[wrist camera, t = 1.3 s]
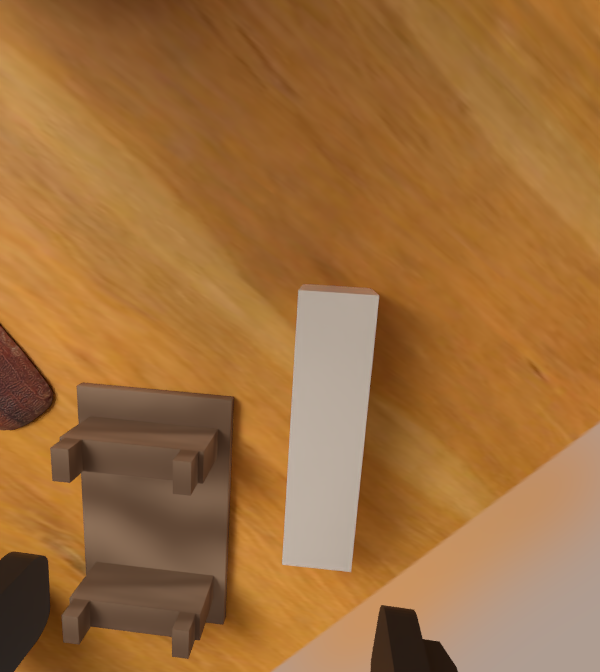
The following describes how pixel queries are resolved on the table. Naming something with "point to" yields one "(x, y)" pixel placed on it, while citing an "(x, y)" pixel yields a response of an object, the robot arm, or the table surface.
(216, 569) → the rack
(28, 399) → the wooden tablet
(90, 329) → the table surface
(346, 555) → the white rectangular block
